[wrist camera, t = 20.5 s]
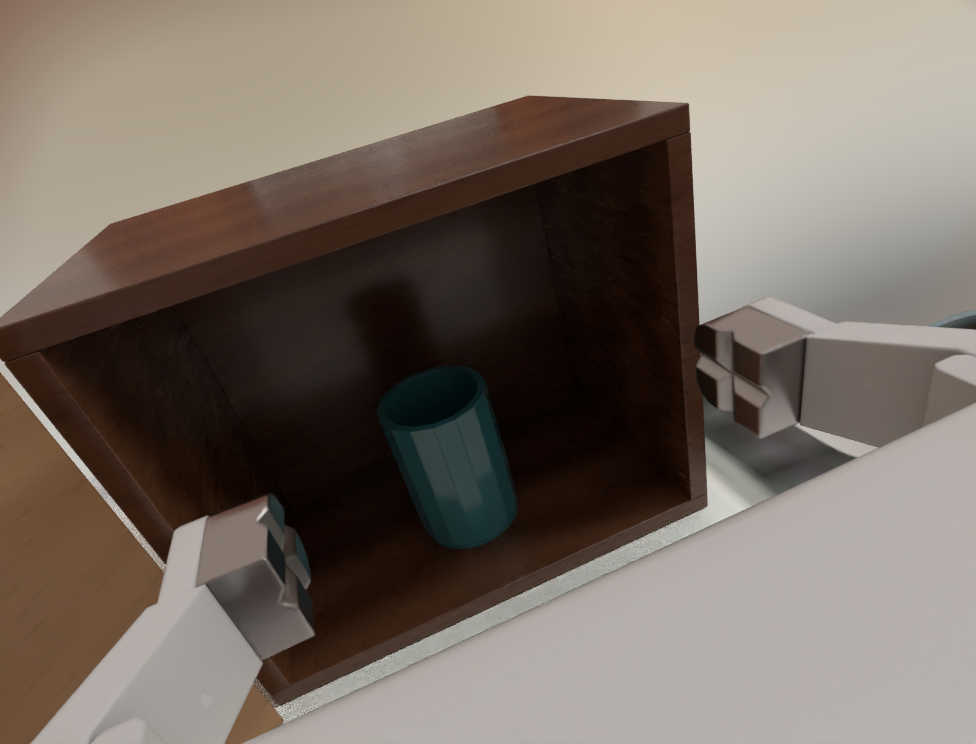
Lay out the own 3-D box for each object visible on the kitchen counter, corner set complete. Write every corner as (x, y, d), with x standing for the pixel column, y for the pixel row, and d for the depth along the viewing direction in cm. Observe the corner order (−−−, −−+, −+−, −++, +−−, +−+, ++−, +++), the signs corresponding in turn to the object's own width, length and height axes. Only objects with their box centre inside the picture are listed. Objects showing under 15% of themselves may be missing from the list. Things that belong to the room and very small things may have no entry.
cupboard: (708, 506, 36) (689, 102, 24) (278, 706, 32) (-22, 334, 19) (580, 382, 52) (528, 95, 39) (277, 505, 47) (108, 224, 35)
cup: (533, 522, 37) (500, 401, 32) (437, 565, 36) (387, 446, 31) (499, 464, 43) (466, 353, 38) (415, 499, 42) (369, 390, 37)
